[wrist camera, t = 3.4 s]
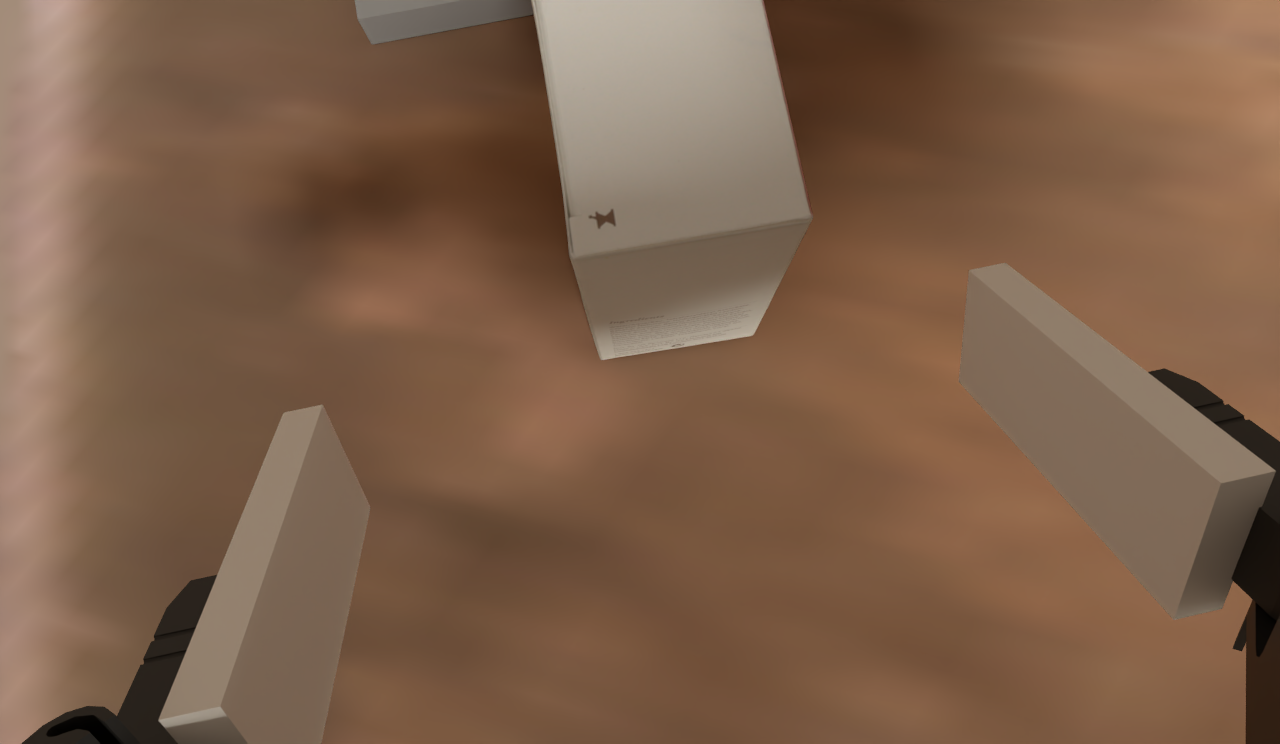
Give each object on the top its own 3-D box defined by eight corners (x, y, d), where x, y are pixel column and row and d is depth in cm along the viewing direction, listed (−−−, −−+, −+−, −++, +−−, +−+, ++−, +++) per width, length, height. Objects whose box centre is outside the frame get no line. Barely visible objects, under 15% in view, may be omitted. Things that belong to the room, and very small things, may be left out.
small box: (754, 339, 28) (821, 226, 17) (597, 364, 27) (568, 266, 17) (714, 131, 29) (752, -87, 19) (564, 154, 29) (520, -53, 19)
